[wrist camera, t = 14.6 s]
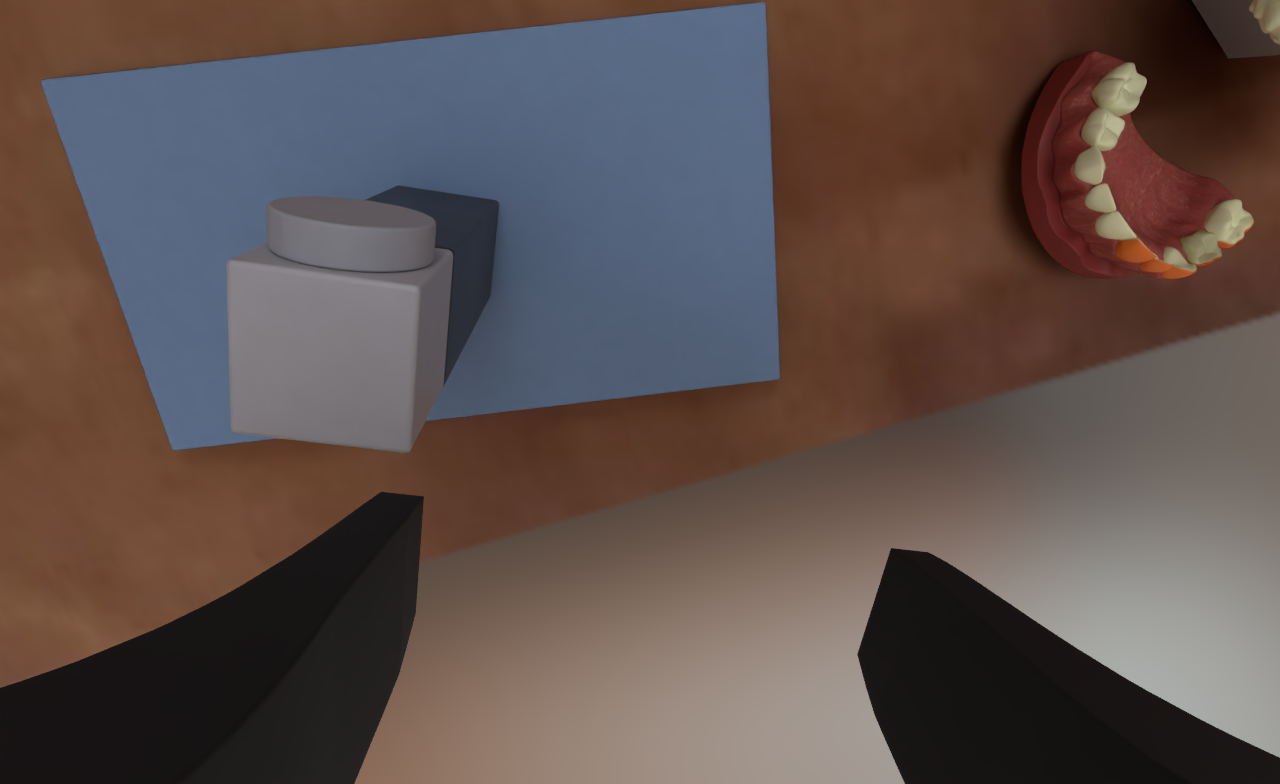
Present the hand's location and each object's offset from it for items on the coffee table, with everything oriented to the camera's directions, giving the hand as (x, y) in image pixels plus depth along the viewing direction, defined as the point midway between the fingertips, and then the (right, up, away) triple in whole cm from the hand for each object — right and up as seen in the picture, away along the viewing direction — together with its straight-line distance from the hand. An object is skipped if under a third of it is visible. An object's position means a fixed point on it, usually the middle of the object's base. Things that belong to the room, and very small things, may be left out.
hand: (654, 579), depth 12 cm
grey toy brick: (-5, +6, +7) cm, 11 cm away
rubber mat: (-5, +7, +7) cm, 11 cm away
